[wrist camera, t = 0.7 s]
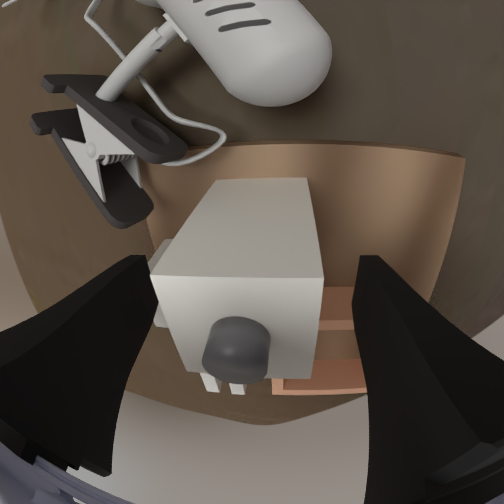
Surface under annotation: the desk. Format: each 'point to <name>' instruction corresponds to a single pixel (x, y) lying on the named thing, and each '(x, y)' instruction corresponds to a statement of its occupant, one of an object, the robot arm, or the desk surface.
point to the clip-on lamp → (145, 126)
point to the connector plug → (245, 282)
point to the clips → (159, 320)
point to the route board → (333, 205)
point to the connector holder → (329, 371)
